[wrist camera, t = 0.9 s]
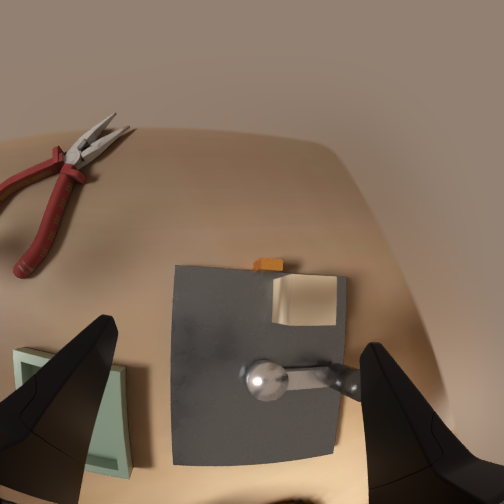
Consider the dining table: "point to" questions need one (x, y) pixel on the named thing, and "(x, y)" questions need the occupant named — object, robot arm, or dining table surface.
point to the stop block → (304, 300)
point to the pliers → (57, 188)
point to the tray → (108, 419)
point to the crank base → (236, 364)
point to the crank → (300, 379)
